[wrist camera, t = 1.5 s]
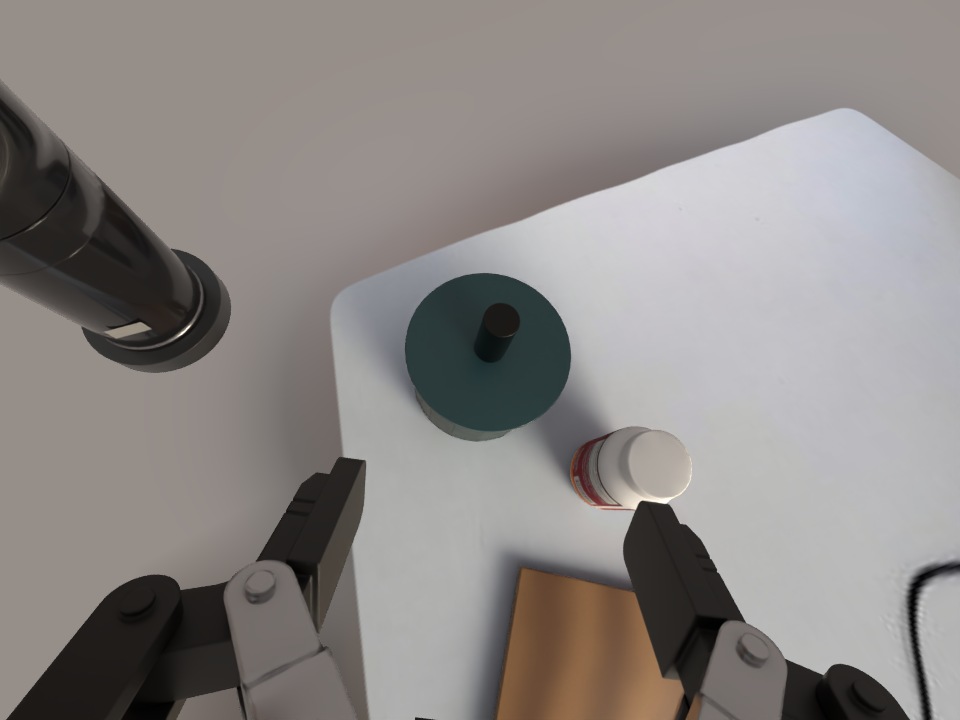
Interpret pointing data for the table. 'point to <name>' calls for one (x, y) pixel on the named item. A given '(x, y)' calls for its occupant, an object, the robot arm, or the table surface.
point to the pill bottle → (630, 469)
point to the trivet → (580, 655)
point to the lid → (487, 352)
